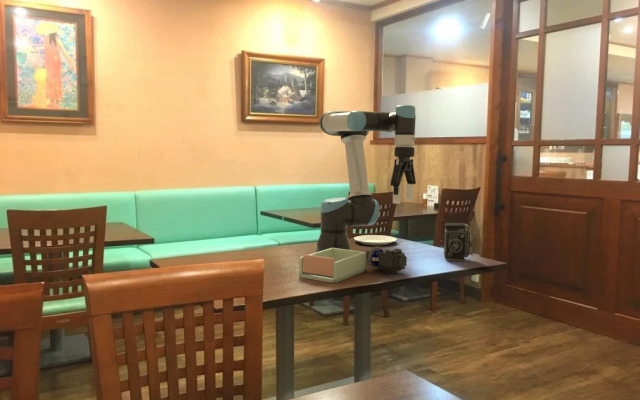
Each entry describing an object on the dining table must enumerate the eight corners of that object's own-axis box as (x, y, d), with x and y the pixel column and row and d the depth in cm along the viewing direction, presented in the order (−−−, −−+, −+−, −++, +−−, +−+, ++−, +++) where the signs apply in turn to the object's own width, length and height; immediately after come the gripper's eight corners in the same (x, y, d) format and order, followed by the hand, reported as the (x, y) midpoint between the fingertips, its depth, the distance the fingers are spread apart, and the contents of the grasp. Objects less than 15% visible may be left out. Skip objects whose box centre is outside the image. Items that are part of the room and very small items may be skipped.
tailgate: (302, 273, 177) (303, 254, 177) (303, 273, 178) (304, 254, 178) (332, 278, 171) (333, 258, 170) (333, 278, 171) (335, 258, 171)
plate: (387, 248, 233) (387, 243, 233) (346, 244, 244) (346, 239, 243) (402, 241, 251) (403, 237, 251) (364, 238, 262) (364, 233, 261)
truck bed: (299, 276, 178) (299, 257, 178) (332, 265, 196) (332, 247, 196) (335, 283, 170) (335, 262, 169) (366, 270, 188) (366, 252, 188)
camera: (471, 263, 203) (472, 226, 202) (444, 261, 205) (445, 225, 204) (469, 257, 213) (470, 222, 212) (443, 256, 215) (444, 221, 214)
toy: (377, 244, 195) (410, 250, 184) (376, 266, 196) (409, 273, 185) (363, 247, 189) (396, 253, 178) (362, 270, 189) (395, 277, 179)
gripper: (401, 146, 180) (400, 205, 182) (424, 146, 202) (423, 199, 204) (382, 146, 184) (381, 204, 186) (406, 146, 206) (405, 198, 208)
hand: (403, 202), depth 195 cm, fingers open, 13 cm apart
